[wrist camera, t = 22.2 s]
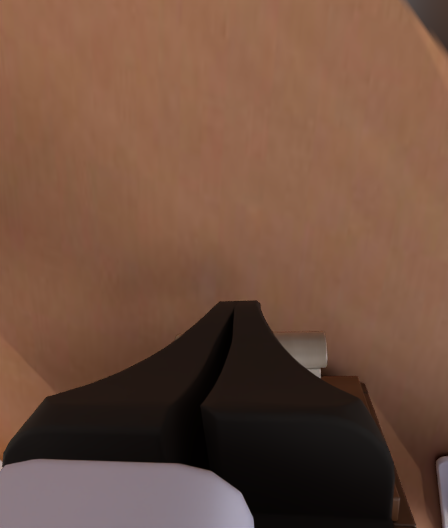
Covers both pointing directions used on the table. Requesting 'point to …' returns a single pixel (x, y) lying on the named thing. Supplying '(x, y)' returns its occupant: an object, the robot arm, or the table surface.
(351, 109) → the table surface
